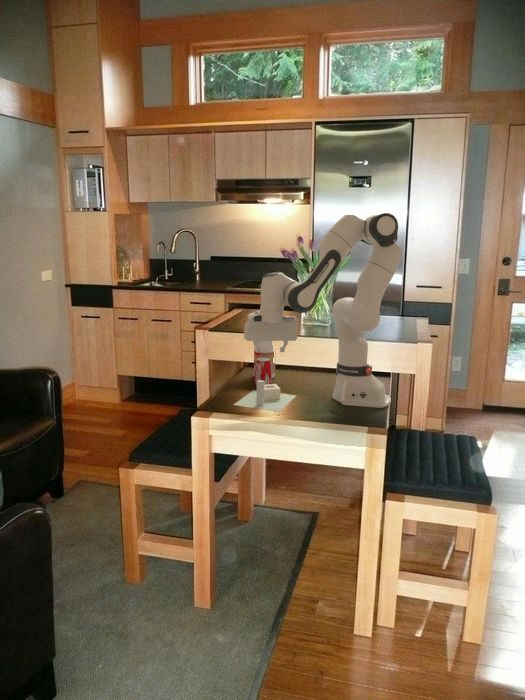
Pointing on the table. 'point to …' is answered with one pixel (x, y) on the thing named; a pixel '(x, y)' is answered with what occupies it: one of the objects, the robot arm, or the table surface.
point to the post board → (258, 402)
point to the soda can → (263, 370)
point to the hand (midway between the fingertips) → (270, 352)
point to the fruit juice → (265, 353)
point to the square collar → (271, 392)
